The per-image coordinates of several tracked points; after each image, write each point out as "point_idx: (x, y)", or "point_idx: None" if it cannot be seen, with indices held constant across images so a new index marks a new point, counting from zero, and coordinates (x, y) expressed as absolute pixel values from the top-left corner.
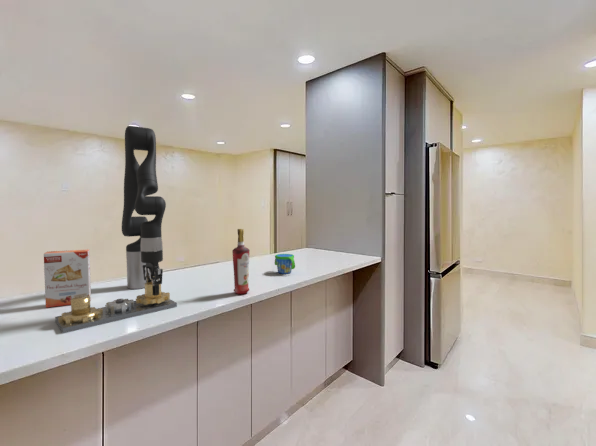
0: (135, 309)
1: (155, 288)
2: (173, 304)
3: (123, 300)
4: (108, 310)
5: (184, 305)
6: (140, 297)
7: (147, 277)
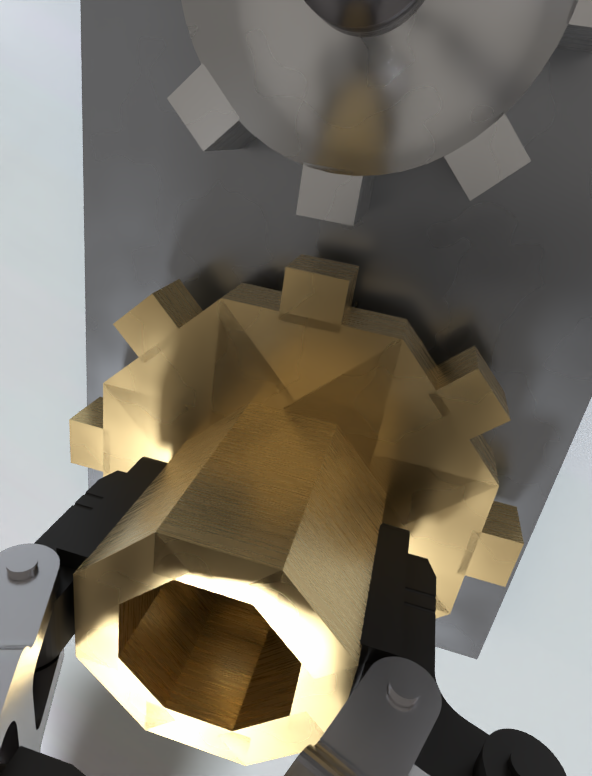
0: (187, 152)
1: (51, 530)
2: None
3: (326, 21)
4: None
5: None
6: (354, 365)
7: (302, 770)
